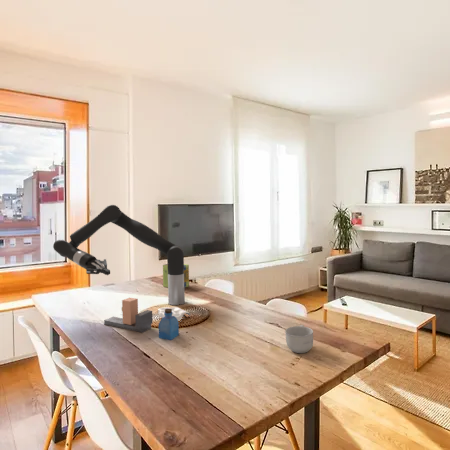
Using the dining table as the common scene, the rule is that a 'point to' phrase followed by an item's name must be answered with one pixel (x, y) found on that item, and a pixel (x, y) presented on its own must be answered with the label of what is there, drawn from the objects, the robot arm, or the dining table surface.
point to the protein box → (186, 275)
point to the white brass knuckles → (173, 312)
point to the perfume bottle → (168, 326)
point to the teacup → (299, 338)
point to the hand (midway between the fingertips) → (109, 273)
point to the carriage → (129, 310)
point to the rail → (141, 323)
